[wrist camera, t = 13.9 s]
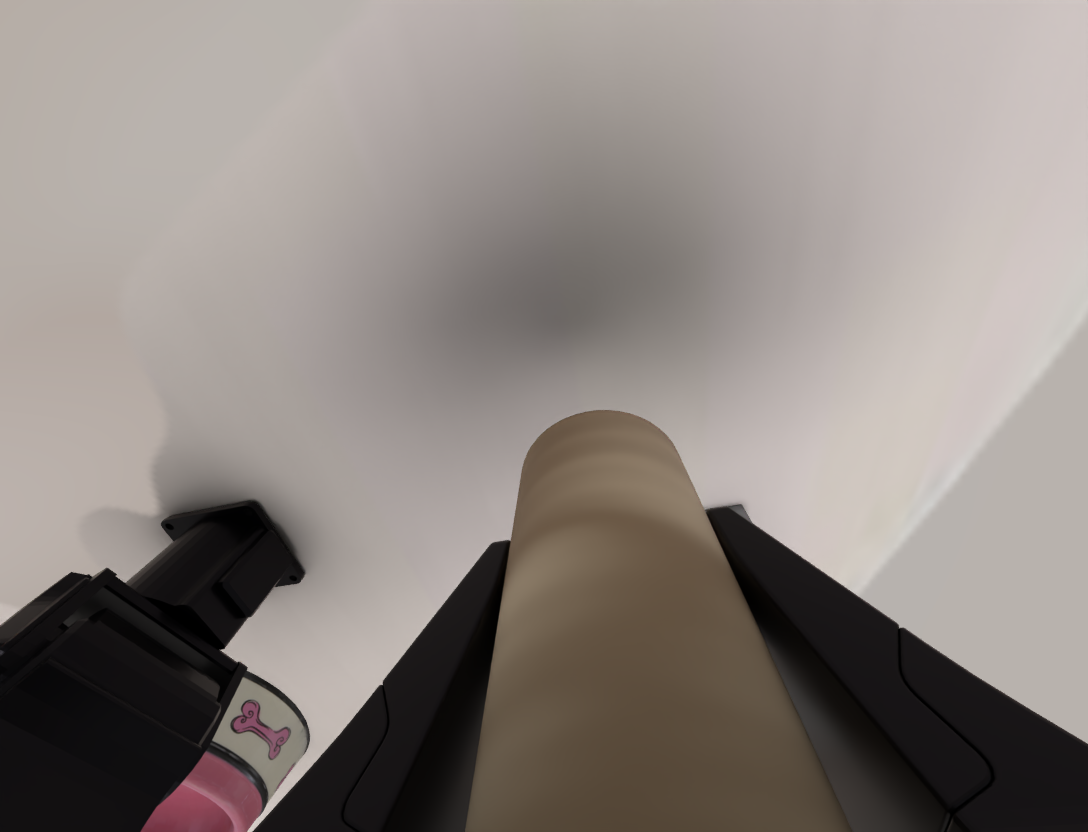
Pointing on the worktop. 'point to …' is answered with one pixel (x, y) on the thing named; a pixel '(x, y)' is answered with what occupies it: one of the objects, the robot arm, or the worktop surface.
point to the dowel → (632, 659)
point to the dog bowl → (238, 764)
